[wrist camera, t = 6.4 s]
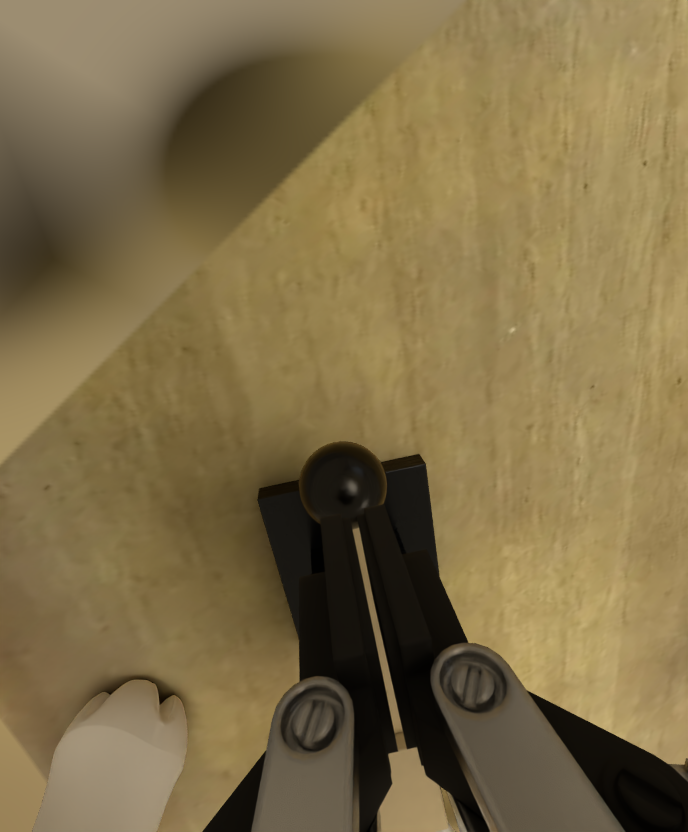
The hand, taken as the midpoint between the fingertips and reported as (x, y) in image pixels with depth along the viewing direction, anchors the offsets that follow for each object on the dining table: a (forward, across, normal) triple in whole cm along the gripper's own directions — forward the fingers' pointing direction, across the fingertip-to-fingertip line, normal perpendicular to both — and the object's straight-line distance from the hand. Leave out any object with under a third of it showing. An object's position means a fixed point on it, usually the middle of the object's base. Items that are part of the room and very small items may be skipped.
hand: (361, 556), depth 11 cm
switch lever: (+4, 0, +6) cm, 7 cm away
